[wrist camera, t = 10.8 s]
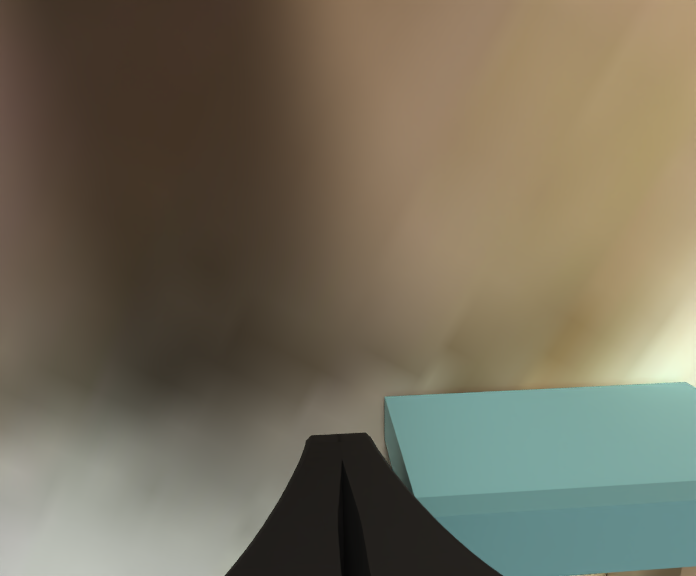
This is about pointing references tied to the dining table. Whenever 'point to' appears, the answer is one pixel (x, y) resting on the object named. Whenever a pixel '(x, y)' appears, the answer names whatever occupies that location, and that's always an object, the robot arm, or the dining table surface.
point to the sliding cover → (555, 474)
